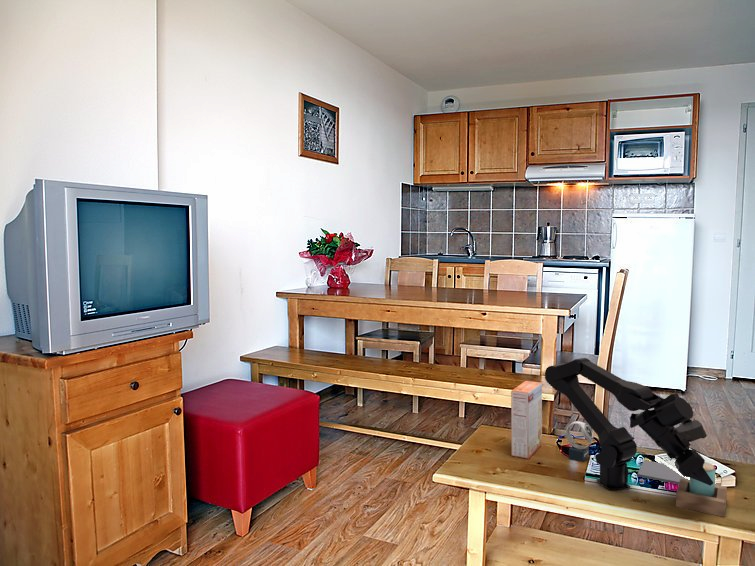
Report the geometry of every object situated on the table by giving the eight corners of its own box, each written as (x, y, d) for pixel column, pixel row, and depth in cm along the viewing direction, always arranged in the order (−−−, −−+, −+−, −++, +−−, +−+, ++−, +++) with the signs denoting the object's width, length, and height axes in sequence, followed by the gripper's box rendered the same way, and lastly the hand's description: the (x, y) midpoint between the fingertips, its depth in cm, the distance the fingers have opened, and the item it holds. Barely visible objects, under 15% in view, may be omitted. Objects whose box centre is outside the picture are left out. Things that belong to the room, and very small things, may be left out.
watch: (589, 463, 177) (590, 427, 176) (562, 457, 182) (563, 422, 181) (595, 457, 182) (596, 422, 181) (568, 452, 186) (569, 417, 185)
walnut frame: (675, 506, 149) (676, 492, 149) (680, 490, 158) (680, 478, 158) (724, 516, 143) (725, 502, 143) (726, 500, 152) (726, 486, 152)
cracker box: (524, 442, 195) (524, 379, 193) (542, 445, 192) (543, 382, 190) (509, 456, 183) (510, 389, 182) (528, 459, 180) (529, 392, 178)
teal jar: (700, 509, 147) (701, 470, 147) (683, 499, 153) (685, 461, 152) (719, 506, 149) (720, 467, 148) (702, 497, 154) (703, 459, 153)
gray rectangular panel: (721, 477, 166) (721, 474, 166) (719, 493, 156) (719, 489, 156) (644, 463, 177) (644, 460, 177) (637, 477, 167) (637, 473, 167)
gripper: (696, 421, 140) (746, 471, 139) (675, 400, 159) (719, 443, 157) (659, 451, 143) (708, 500, 141) (642, 427, 161) (685, 470, 159)
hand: (705, 476), depth 150 cm, fingers open, 9 cm apart
